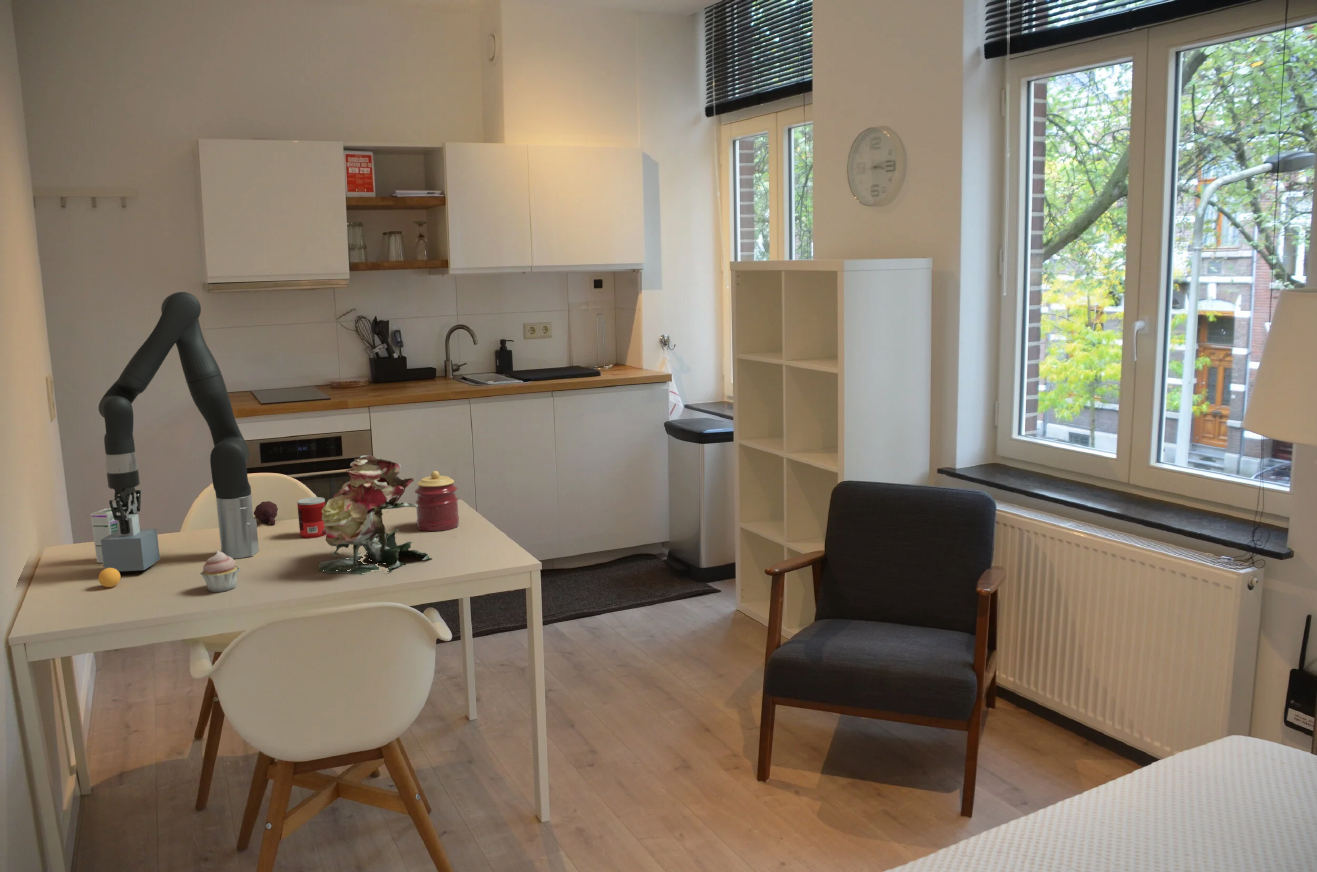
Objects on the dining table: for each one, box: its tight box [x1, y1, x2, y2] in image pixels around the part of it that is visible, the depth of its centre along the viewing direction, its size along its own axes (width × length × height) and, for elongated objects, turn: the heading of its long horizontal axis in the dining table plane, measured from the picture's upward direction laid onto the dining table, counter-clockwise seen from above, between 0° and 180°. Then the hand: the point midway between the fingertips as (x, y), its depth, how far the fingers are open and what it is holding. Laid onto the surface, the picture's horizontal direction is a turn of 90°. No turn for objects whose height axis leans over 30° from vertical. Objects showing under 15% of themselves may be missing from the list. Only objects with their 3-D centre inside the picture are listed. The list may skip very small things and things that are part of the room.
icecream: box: [253, 500, 279, 526], centre depth 326 cm, size 7×7×15 cm
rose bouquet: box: [318, 455, 432, 576], centre depth 273 cm, size 26×29×30 cm
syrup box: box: [90, 507, 118, 564], centre depth 284 cm, size 6×6×14 cm
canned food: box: [296, 496, 326, 539], centre depth 307 cm, size 8×8×11 cm
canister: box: [414, 470, 460, 532], centre depth 313 cm, size 13×13×18 cm
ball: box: [98, 568, 121, 588], centre depth 260 cm, size 5×5×5 cm
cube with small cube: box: [101, 514, 161, 572], centre depth 273 cm, size 10×10×14 cm
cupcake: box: [199, 550, 241, 593], centre depth 256 cm, size 9×9×10 cm
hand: (129, 531), depth 272 cm, fingers closed on cube with small cube, 4 cm apart
